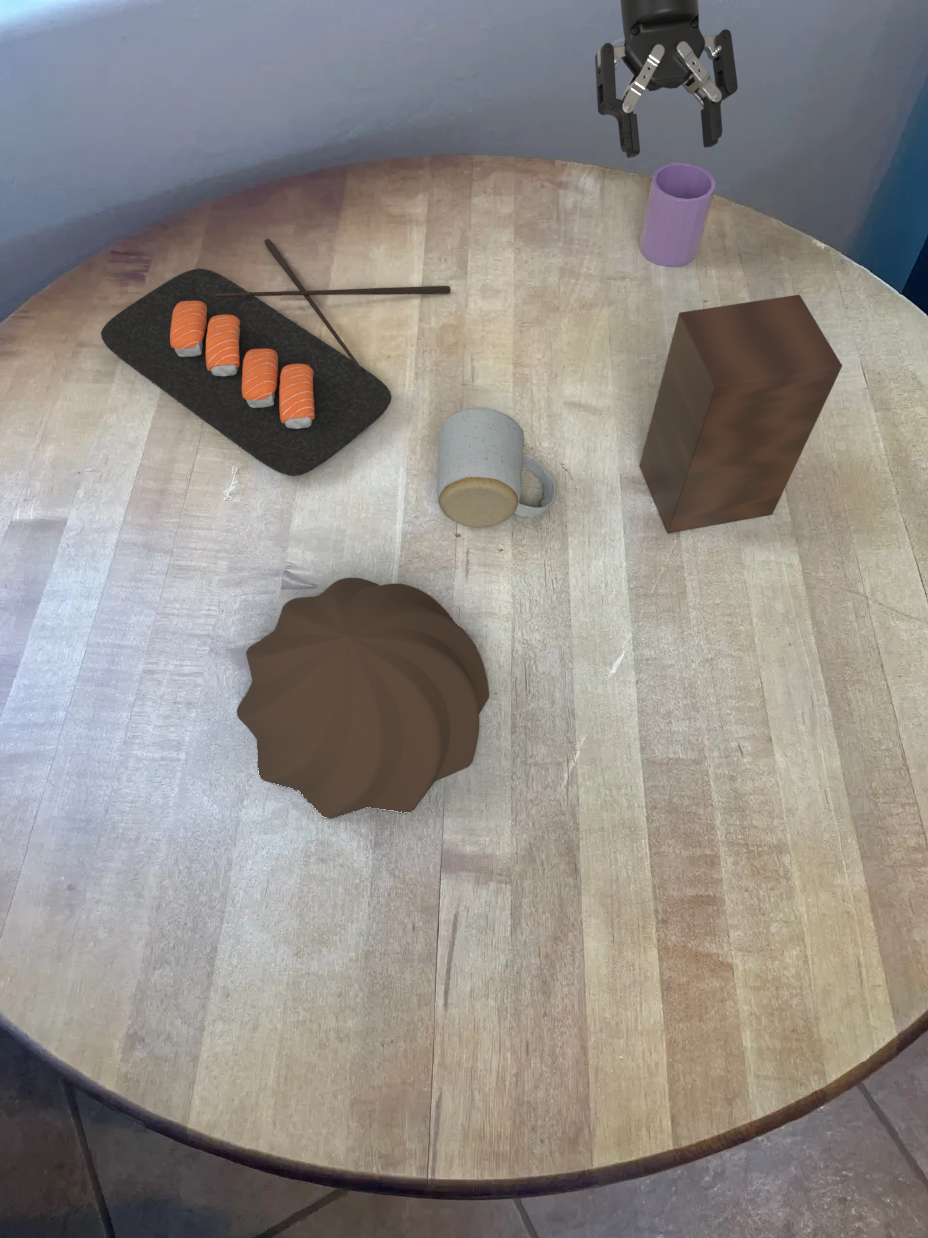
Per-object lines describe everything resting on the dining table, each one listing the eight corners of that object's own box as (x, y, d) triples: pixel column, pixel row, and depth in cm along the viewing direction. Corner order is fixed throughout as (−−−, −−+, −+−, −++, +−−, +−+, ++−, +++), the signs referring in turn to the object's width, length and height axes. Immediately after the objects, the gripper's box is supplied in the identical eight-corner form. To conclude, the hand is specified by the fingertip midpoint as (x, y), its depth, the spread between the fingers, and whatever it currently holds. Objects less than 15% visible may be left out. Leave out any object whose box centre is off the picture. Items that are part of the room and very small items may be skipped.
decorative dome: (199, 784, 72) (166, 727, 64) (293, 573, 82) (275, 500, 74) (446, 852, 70) (447, 803, 61) (512, 627, 80) (520, 557, 71)
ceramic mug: (435, 532, 85) (436, 476, 78) (438, 461, 89) (439, 402, 82) (555, 536, 85) (566, 480, 78) (552, 465, 89) (562, 406, 83)
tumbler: (686, 225, 107) (702, 158, 101) (706, 262, 104) (724, 196, 97) (631, 232, 107) (644, 166, 100) (650, 270, 103) (664, 204, 97)
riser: (740, 448, 90) (799, 293, 75) (772, 515, 86) (843, 365, 71) (638, 465, 89) (678, 311, 74) (667, 534, 85) (715, 386, 70)
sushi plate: (93, 347, 96) (80, 317, 93) (308, 205, 108) (303, 174, 105) (296, 498, 87) (290, 470, 83) (507, 324, 99) (509, 294, 95)
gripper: (708, -16, 101) (721, 151, 104) (577, -2, 99) (596, 167, 103) (740, -48, 93) (752, 132, 97) (599, -34, 91) (618, 150, 95)
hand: (672, 150), depth 100 cm, fingers open, 8 cm apart
